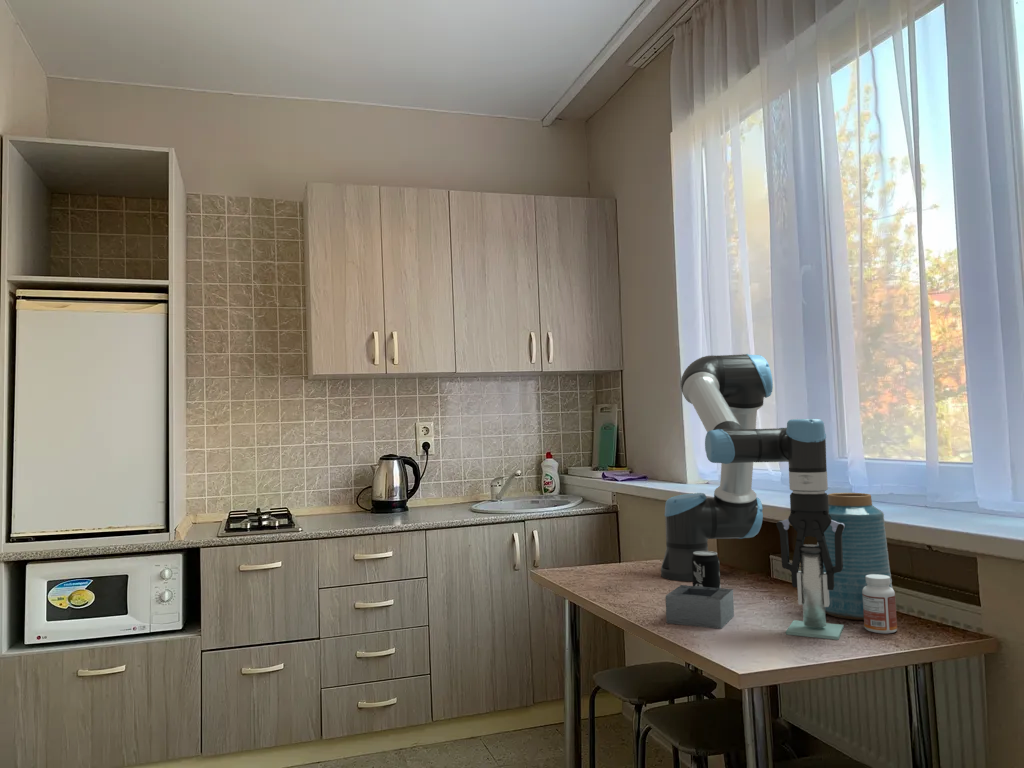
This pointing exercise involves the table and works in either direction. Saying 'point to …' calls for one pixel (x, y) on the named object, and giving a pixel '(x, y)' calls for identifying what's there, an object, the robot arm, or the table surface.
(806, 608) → the glass tube
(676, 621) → the block
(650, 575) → the table surface
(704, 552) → the beverage can
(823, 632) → the mat
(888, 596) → the pill bottle
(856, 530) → the vase
